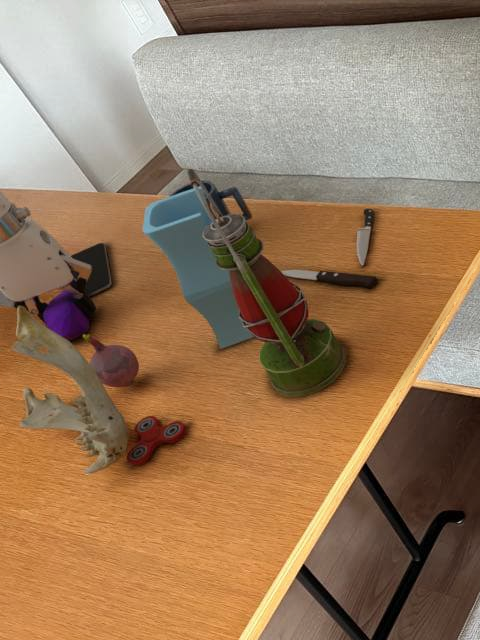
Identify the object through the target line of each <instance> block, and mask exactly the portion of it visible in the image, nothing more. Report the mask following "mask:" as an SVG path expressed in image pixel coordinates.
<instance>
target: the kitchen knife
mask: <svg viewBox="0 0 480 640" xmlns="http://www.w3.org/2000/svg"><path fill="white" fill-rule="evenodd" d="M280 271H281V272H282V273H283V274H284V275H285V277H290V278H296V279H303V280H312V281H317V280H318V281H321V282H326V283H330V284H334V285H341V286H360V287H365V288H368V289H372V288H373V287H374V286H375V285H376V284H377V283H378V278H377V276H374V275H366V274H356V273H346V272H337V271H328V270H327V271H326V270H320V271H314V270H304V269H286V270H280Z"/></svg>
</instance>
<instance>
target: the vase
mask: <svg viewBox="0 0 480 640" xmlns="http://www.w3.org/2000/svg"><path fill="white" fill-rule="evenodd" d="M198 189H199V191H200V193H201V195H202V197H203V199H204V201H205V202H206V204H207V201H206V198H205V194H204V191H203V189H202V188H201V186H199V187H198ZM169 196H170V195H169ZM169 196H167V197H165V198H162V199H159V200H156V201H154V202H152V203H150V204H149V205H148V206H146V207H145V210H144V217H143V224H142V233H143V234H144V235H145V236H146V237H147V238H148V239H149V240H150V241H152V242H153V243H154V244H155V245H156V247H158V248H159V249H160V250H161V251H162V253H163V254H164V255H165V256H166V258H167V259H168V261H169V262H170V263H171V265H172V267H173V269H174V271H175V274H176V276H177V279H178V282H179V285H180V288H181V292H182V296H183V298H184V300H185V301H186V302H187V303H188V304H189V305H190V306H191V307H193V308H194V310H196V311H197V312H198V313H199V314H200V315H201V316H202V317H203V318H204V319H205V320H206V322H207V323H208V324H209V326H210V327H211V329H212V331H213V334H214V336H215V338H216V340H217V343H218V346H219V349H220V350H223V349H225V348H228V347H230V346H233V345H236V344H240V343H242V342H245V341H248V340H250V339H254V338H255V337H254V336H253V335H252V334H251V333H250V332H249V331H248V330H247V329H246V328H244V327H243V323H242V320H241V319H240V318H239V307H238V305H237V302H236V300H235V296H234V293H233V289H232V285H231V281H230V275H229V270H227V271H226V270H222V269H220V268H219V267H218V266H217V265H216V258H215V256H214V255H213V253H212V252H211V249H210V247H209V245H208V244H207V241H206V240H205V239H204V238H203V231H204V230H205V228H206V227H207V226H208V225H209V224H210V223H211V222H212V220H211V218H210V217H209V215H208V213H207V212H206V210H205V208H204V206H203V205H202V203H201V201H200V199H199V197H198V195H197V193H196V191H195V189H194V188H193V189H190V190H188V191H185V192H182V193H179V194H176V195H173V196H170V197H169ZM207 206H208V204H207ZM208 208H209V207H208ZM245 326H246V325H245Z"/></svg>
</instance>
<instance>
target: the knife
mask: <svg viewBox="0 0 480 640" xmlns="http://www.w3.org/2000/svg"><path fill="white" fill-rule="evenodd" d="M363 215H364V227H358V228H357V234H356V255H357V258H358V262H359V264H360V265H361V266H362V267H363V266H364V265H365V262H366V259H367V255H368V249H369V243H370V236H371V231H372V225H373V220H374V211H373V209H371V208H365V209H364V210H363Z"/></svg>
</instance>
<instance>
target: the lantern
mask: <svg viewBox="0 0 480 640" xmlns="http://www.w3.org/2000/svg"><path fill="white" fill-rule="evenodd" d="M186 173H187V177H188V180H189V181H188V182H189V184H191V186H192V187H193V188H194V189H195V191H196V193H197V195H198V197H199V199H200V201H201V203H202V205H203V206H204V208H205V210H206V212H207V213H208V215H209V217H210V218H211V220H212V222H211V223H210V224H209V225H208V226H207V227H206V228H205V230H204V231H203V238H204V239H205V240H206V241H207V244H208V245H209V247H210V249H211V252H212V253H213V255H214V256H215V258H216V265H217V266H218V267H219V268H220V269H222V270H226V271H227V270H229V275H230V281H231V285H232V289H233V293H234V296H235V300H236V302H237V305H238V307H239V318H240V319H241V320H242V323H243V327H244V328H246V329H247V330H248V331H249V332H250V333H251V334H252V335H253V336H254V337H253V338H255V339H256V340H258V341H261V342H263V345H261V348H260V350H259V363H260V364H261V366H262V368H263V369H264V371H265V372H266V373H267V375H268V376H269V378H270V383H271V386H272V387H273V389H274V390H275V391H276V393H278V394H280V395H282V396H285V397H288V398H292V397H293V398H296V397H306V396H308V395H311V394H315V393H317V392H320V391H321V390H322V389H324V388H325V387H327V386H329V385H331V384H332V383H333V382H334V381H335V380H336V379H337V377H338V376H339V375H340V374H341V373H342V372H343V370H344V368H345V365H346V362H347V354H346V353H347V352H346V349H345V348H344V347H343V345H341V343H340V342H339V341H338V340H337V338H336V336H335V334H334V332H333V330H332V329H331V327H330V326H329V325H328V324H327V323H326V322H325V321H323V320H320V319H316V318H309V316H310V314H309V312H310V311H309V306H308V302H307V300H306V299H307V298H306V296H305V294H304V293H303V291H302V288H301V287H300V286H299V285H298V284H297V283H295V282H292V281H290V280H289V279H288V277H287V276H286V275H284V274H283V273H282V272H281V271H282V270H280V269H279V268H278V267H277V266H276V265H274V263H272V262H271V260H269V258H267V257H266V256H264V255H263V254H262V253H263V251H264V247H265V246H264V245H265V243H264V242H263V241H262V240H261V239H260V238H258V237H257V236H256V234H255V232H254V231H253V230H252V229H251V226H250V225H249V224H248V223H247V221H246V220H245V218H244V217H243V216H242V215H241V214H239V213H231V214H229V215H226V216H223V215H222V214H221V212H220V211H219V209H218V208H217V206H216V204H215V203H214V201H213V199H212V198H211V196H210V194H209V193H208V191H207V190H206V188H205V186H204V185H203V183H202V180H201V178H200V177H199V174H197V172H196V171H195V170H194V169H192V168H188V169H187V170H186ZM198 183H199V184H198ZM198 185H200V186H201V188H202V189H203V191H204V193H205V194H206V196H207V198H208V199H209V201H210V206H211V209H212V211H213V213H214V215H215V216H216V218H217V219H216V220H215V218H214V216H213V215H212V213H211V211H210V210H209V208H208V206H207V204H206V202H205V201H204V199H203V197H202V195H201V193H200V191H199V189H198ZM245 325H246V326H245Z"/></svg>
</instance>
